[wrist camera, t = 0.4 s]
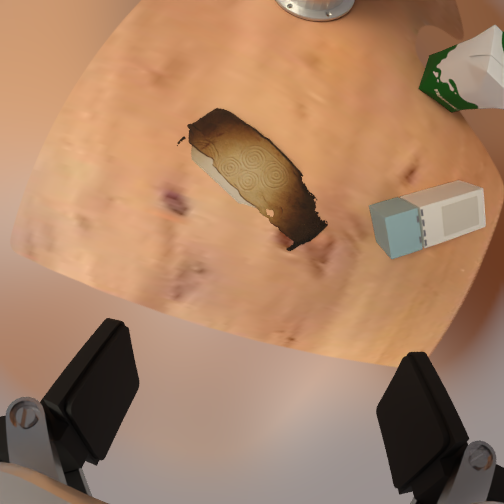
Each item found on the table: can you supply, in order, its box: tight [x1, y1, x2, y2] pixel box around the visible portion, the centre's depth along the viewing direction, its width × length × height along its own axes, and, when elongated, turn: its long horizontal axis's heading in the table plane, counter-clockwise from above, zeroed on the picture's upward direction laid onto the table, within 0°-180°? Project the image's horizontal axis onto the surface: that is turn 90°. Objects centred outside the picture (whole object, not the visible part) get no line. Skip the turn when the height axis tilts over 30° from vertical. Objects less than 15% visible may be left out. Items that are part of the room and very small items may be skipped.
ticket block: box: [400, 180, 486, 248], centre depth 36 cm, size 6×12×7 cm, turn 109°
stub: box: [369, 197, 422, 259], centre depth 38 cm, size 6×5×7 cm
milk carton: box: [419, 25, 504, 112], centre depth 22 cm, size 9×9×20 cm
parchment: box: [177, 108, 327, 251], centre depth 40 cm, size 25×10×1 cm, turn 46°
